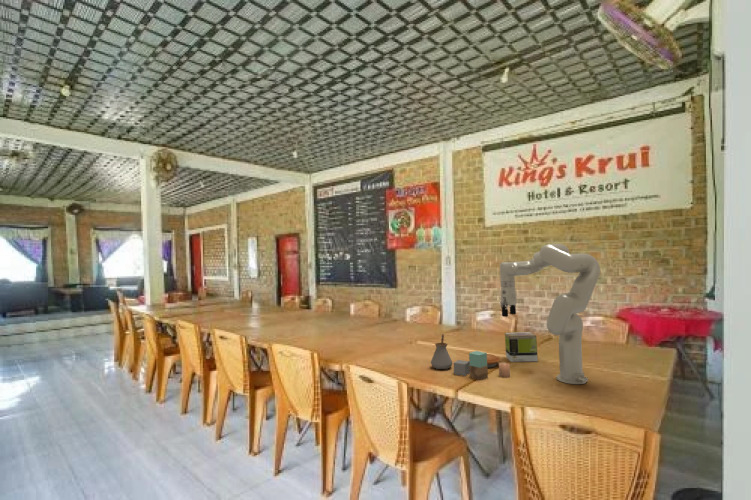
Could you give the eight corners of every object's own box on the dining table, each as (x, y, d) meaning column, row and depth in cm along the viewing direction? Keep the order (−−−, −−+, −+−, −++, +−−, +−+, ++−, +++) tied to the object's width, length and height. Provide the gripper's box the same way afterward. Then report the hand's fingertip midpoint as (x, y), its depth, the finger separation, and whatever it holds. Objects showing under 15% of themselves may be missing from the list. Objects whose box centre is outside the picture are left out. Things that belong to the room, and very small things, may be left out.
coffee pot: (451, 371, 195) (450, 342, 196) (429, 370, 198) (428, 342, 199) (454, 360, 216) (453, 334, 216) (434, 359, 219) (433, 333, 219)
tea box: (532, 357, 218) (531, 331, 218) (538, 362, 208) (537, 335, 208) (505, 357, 219) (504, 331, 220) (509, 362, 209) (508, 335, 210)
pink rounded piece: (512, 376, 184) (511, 364, 184) (503, 378, 183) (502, 365, 183) (506, 373, 189) (505, 361, 189) (497, 374, 188) (496, 362, 188)
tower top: (487, 365, 185) (486, 353, 185) (479, 367, 181) (479, 355, 181) (476, 362, 189) (476, 350, 189) (469, 365, 185) (469, 353, 186)
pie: (464, 365, 207) (464, 355, 207) (481, 359, 217) (481, 350, 217) (489, 371, 195) (489, 361, 195) (505, 364, 205) (505, 355, 205)
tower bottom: (487, 378, 183) (487, 365, 183) (477, 380, 181) (477, 367, 181) (479, 375, 189) (479, 362, 189) (470, 376, 186) (469, 364, 187)
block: (469, 373, 192) (469, 361, 192) (465, 376, 187) (464, 364, 187) (458, 371, 196) (458, 359, 196) (453, 374, 191) (453, 362, 191)
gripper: (507, 285, 200) (508, 318, 200) (520, 283, 213) (522, 313, 212) (494, 285, 205) (495, 316, 205) (508, 283, 218) (509, 312, 217)
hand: (509, 315), depth 209 cm, fingers open, 9 cm apart
